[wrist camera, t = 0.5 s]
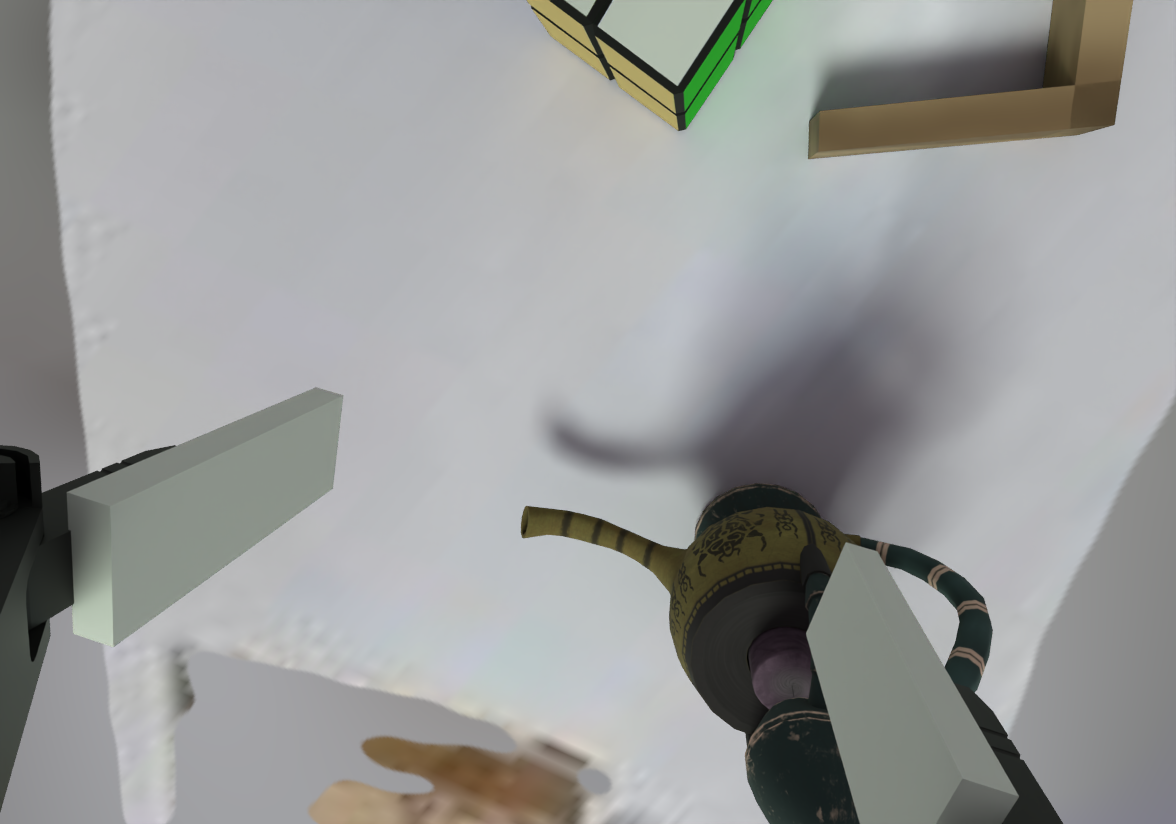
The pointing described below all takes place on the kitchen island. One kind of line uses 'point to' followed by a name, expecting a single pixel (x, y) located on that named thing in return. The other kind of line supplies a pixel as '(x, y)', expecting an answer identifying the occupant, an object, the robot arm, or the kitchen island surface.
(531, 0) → the puzzle cube
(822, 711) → the teapot
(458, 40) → the kitchen island surface
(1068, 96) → the walnut dock
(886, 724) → the robot arm
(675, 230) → the kitchen island surface
